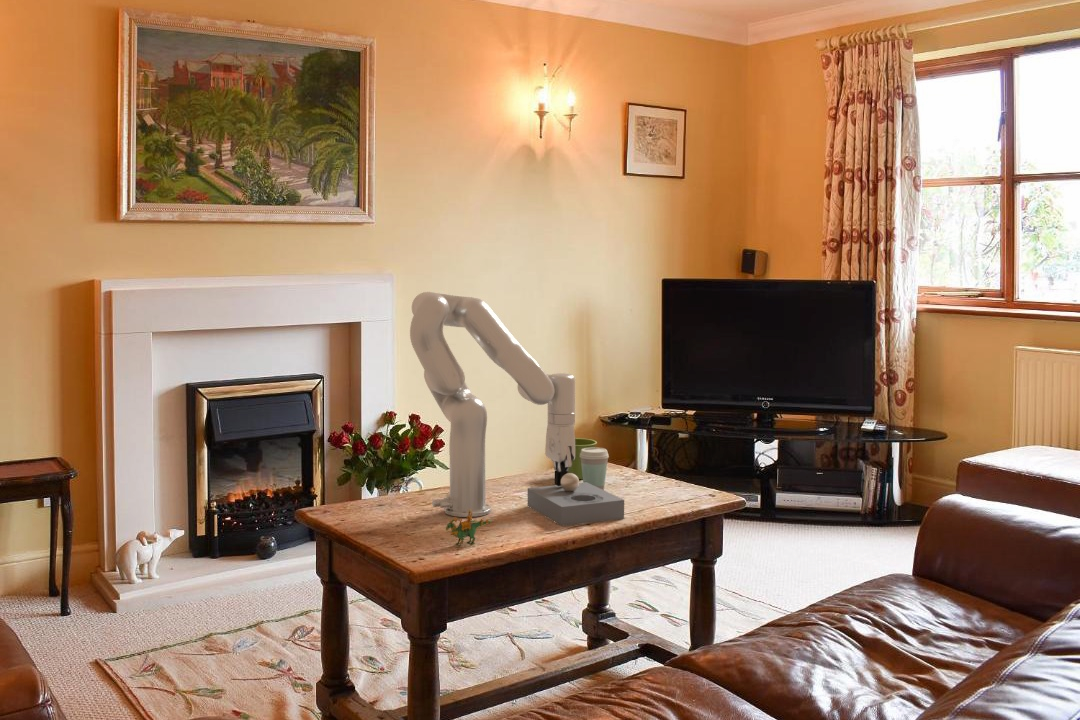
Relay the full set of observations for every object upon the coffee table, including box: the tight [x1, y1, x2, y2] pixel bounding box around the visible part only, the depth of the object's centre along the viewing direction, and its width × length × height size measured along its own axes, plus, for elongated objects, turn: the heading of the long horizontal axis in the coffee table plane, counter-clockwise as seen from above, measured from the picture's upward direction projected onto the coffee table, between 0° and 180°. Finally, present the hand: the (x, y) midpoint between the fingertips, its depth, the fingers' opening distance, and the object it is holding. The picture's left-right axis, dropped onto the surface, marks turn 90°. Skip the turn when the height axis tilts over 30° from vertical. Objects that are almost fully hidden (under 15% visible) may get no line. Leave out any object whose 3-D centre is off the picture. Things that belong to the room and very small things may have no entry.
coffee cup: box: [580, 446, 610, 491], centre depth 294 cm, size 8×9×12 cm
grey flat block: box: [527, 481, 625, 527], centre depth 270 cm, size 18×22×5 cm
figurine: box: [445, 510, 492, 547], centre depth 241 cm, size 3×12×8 cm, turn 118°
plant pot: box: [564, 437, 598, 480], centre depth 311 cm, size 12×12×11 cm
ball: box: [561, 473, 580, 492], centre depth 272 cm, size 5×5×5 cm
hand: (561, 484), depth 277 cm, fingers closed
